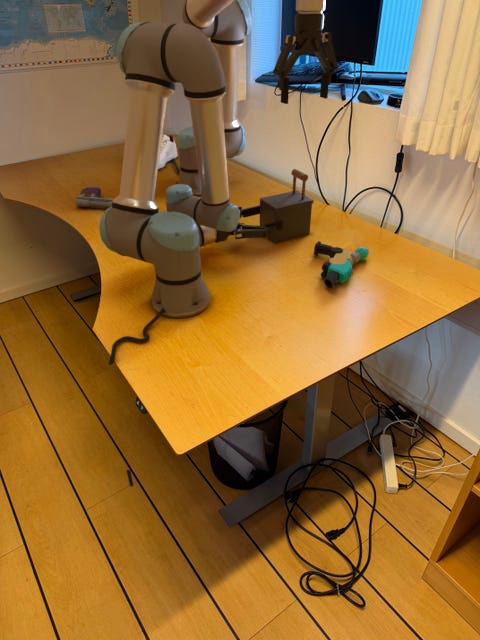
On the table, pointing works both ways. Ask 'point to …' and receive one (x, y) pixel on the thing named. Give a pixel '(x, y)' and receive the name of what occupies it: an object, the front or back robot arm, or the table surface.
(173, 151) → the sneaker
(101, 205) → the toy gun
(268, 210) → the chest
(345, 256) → the toy gun
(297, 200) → the lid
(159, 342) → the table surface
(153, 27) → the front robot arm
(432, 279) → the table surface
